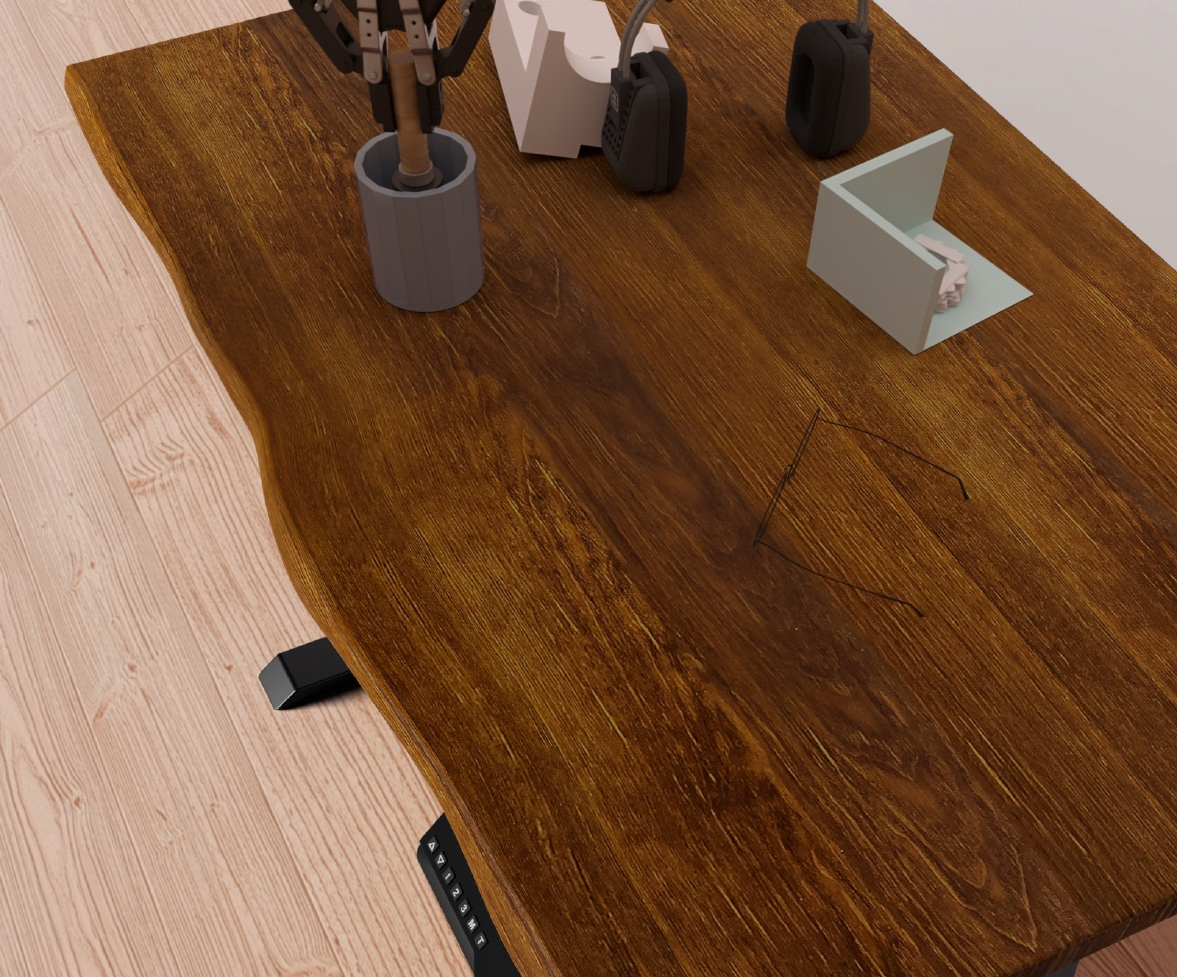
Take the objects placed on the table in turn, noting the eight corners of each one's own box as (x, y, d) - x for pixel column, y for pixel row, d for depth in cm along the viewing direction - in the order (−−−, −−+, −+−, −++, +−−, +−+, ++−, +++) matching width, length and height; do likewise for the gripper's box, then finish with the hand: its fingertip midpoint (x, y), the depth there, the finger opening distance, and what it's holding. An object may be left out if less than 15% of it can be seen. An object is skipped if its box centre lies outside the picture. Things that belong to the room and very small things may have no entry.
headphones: (838, 112, 109) (879, -133, 94) (871, 153, 106) (920, -95, 90) (595, 161, 105) (596, -87, 89) (621, 205, 101) (626, -46, 86)
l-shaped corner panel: (914, 355, 91) (936, 270, 85) (806, 266, 97) (820, 181, 91) (1033, 294, 95) (1063, 209, 89) (923, 212, 101) (943, 128, 95)
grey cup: (364, 309, 94) (344, 194, 86) (384, 239, 99) (365, 123, 91) (477, 314, 93) (467, 199, 86) (490, 243, 99) (482, 128, 91)
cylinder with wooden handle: (396, 250, 92) (369, 71, 81) (404, 220, 94) (379, 41, 83) (445, 252, 92) (425, 73, 81) (452, 222, 94) (433, 43, 83)
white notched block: (632, 165, 107) (668, 48, 99) (520, 151, 104) (549, 29, 96) (591, 53, 118) (621, -60, 110) (488, 38, 115) (512, -80, 107)
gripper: (504, -170, 74) (517, 100, 88) (272, -177, 75) (321, 92, 89) (488, -113, 70) (505, 163, 84) (242, -121, 70) (298, 154, 84)
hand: (410, 125), depth 86 cm, fingers closed on cylinder with wooden handle, 2 cm apart
